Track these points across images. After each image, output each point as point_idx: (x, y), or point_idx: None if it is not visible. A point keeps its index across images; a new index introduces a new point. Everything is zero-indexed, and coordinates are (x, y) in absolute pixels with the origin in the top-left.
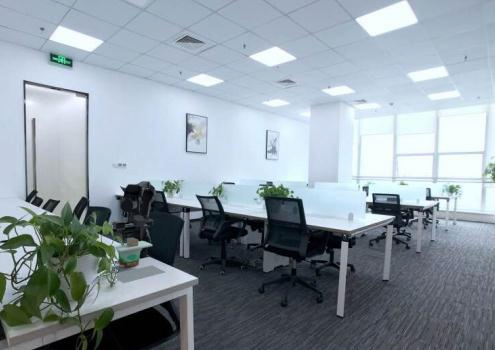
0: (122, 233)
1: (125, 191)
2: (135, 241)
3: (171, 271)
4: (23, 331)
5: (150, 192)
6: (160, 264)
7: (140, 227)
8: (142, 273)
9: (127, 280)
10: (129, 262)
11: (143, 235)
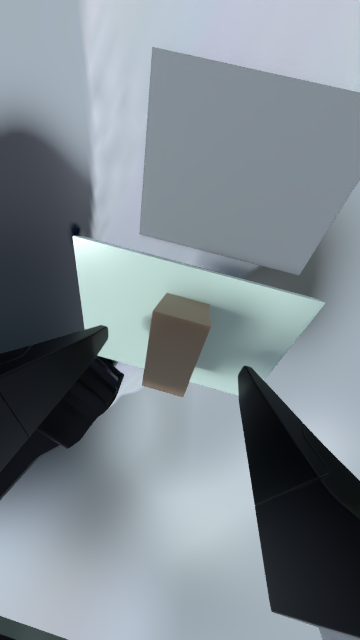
0: (336, 467)
1: None
2: (182, 312)
3: (118, 47)
4: None
5: None
6: (107, 221)
7: (10, 455)
8: (235, 166)
9: (356, 129)
10: None
11: (69, 336)
